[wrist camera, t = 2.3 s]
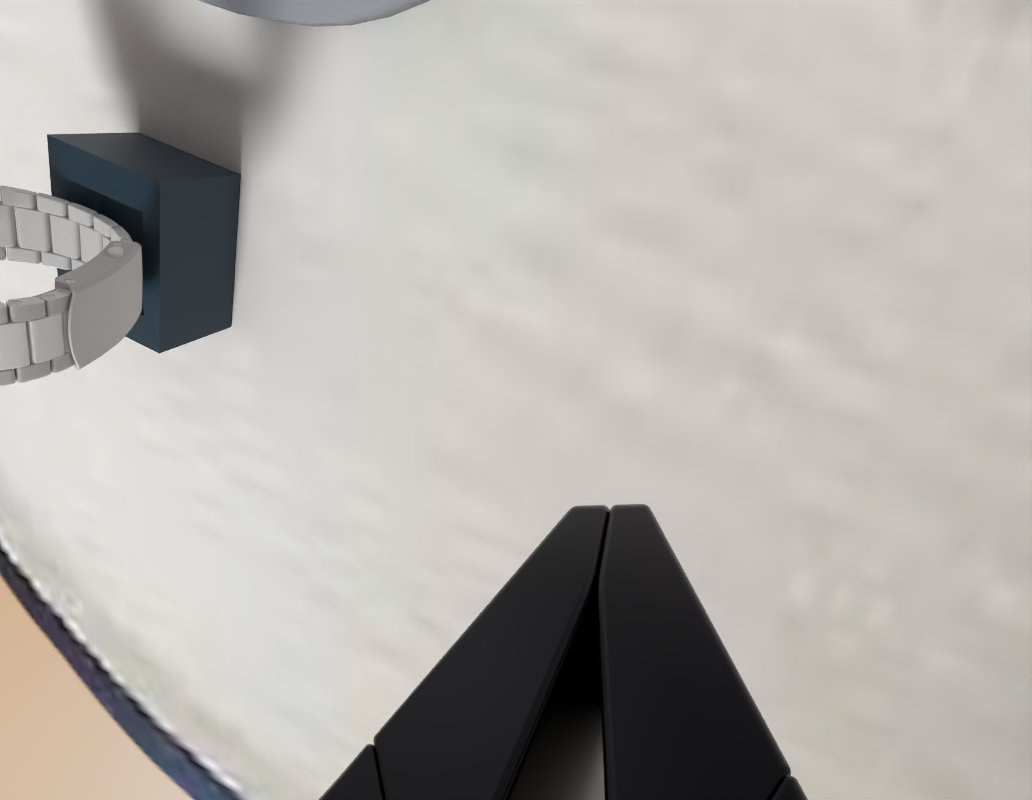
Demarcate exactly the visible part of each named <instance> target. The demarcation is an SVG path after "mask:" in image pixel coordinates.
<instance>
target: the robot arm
mask: <svg viewBox="0 0 1032 800" xmlns="http://www.w3.org/2000/svg"><path fill="white" fill-rule="evenodd" d="M319 800H808V799H807V797H806V796H805V794H804V792H803V790H802V788H801V786H800V784H799V783H798V781H797V779H796V778H794V777H792V776H791V770H790V767H789V765H788V763H787V761H786V760H785V758H784V756H783V754H782V752H781V750H780V748H779V747H778V745H777V743H776V741H775V739H774V737H773V735H772V734H771V732H770V730H769V728H768V726H767V724H766V722H765V721H764V719H763V717H762V715H761V713H760V711H759V709H758V708H757V706H756V704H755V702H754V700H753V698H752V696H751V695H750V693H749V691H748V689H747V687H746V685H745V683H744V682H743V680H742V678H741V676H740V674H739V672H738V670H737V669H736V667H735V665H734V663H733V661H732V659H731V657H730V656H729V654H728V652H727V650H726V648H725V646H724V644H723V643H722V641H721V639H720V637H719V635H718V633H717V631H716V630H715V628H714V626H713V624H712V622H711V620H710V618H709V617H708V615H707V613H706V611H705V609H704V607H703V605H702V604H701V602H700V600H699V598H698V596H697V594H696V593H695V591H694V589H693V587H692V585H691V583H690V581H689V580H688V578H687V576H686V574H685V572H684V570H683V568H682V567H681V565H680V563H679V561H678V559H677V557H676V555H675V554H674V552H673V550H672V548H671V546H670V544H669V542H668V541H667V539H666V537H665V535H664V533H663V531H662V529H661V528H660V526H659V524H658V522H657V520H656V518H655V516H654V515H653V513H652V511H651V509H650V508H649V507H648V506H647V505H645V504H629V505H614V506H613V507H612V508H611V509H610V510H609V508H608V507H607V506H605V505H590V506H575V507H573V508H571V509H570V510H569V511H568V512H567V513H566V514H565V515H564V517H563V518H562V519H561V520H560V521H559V522H558V524H557V525H556V526H555V527H554V528H553V529H552V531H551V532H550V533H549V534H548V535H547V536H546V538H545V539H544V540H543V541H542V542H541V543H540V545H539V546H538V547H537V548H536V549H535V550H534V552H533V553H532V554H531V555H530V556H529V557H528V559H527V560H526V561H525V562H524V563H523V564H522V565H521V567H520V568H519V569H518V570H517V571H516V572H515V574H514V575H513V576H512V577H511V578H510V579H509V581H508V582H507V583H506V584H505V585H504V586H503V588H502V589H501V590H500V591H499V592H498V593H497V595H496V596H495V597H494V598H493V599H492V600H491V602H490V603H489V604H488V605H487V606H486V607H485V609H484V610H483V611H482V612H481V613H480V614H479V616H478V617H477V618H476V619H475V620H474V621H473V622H472V624H471V625H470V626H469V627H468V628H467V629H466V631H465V632H464V633H463V634H462V635H461V636H460V638H459V639H458V640H457V641H456V642H455V643H454V645H453V646H452V647H451V648H450V649H449V650H448V652H447V653H446V654H445V655H444V656H443V657H442V659H441V660H440V661H439V662H438V663H437V664H436V666H435V667H434V668H433V669H432V670H431V671H430V672H429V674H428V675H427V676H426V677H425V678H424V679H423V681H422V682H421V683H420V684H419V685H418V686H417V688H416V689H415V690H414V691H413V692H412V693H411V695H410V696H409V697H408V698H407V699H406V700H405V702H404V703H403V704H402V705H401V706H400V707H399V709H398V710H397V711H396V712H395V713H394V714H393V716H392V717H391V718H390V719H389V720H388V721H387V722H386V724H385V725H384V726H383V727H382V728H381V729H380V731H379V732H378V733H377V734H376V735H375V737H374V745H372V744H368V745H366V746H365V748H364V749H363V750H362V751H361V752H360V753H359V755H358V756H357V757H356V758H355V759H354V760H353V762H352V763H351V764H350V765H349V766H348V767H347V768H346V770H345V771H344V772H343V773H342V774H341V775H340V777H339V778H338V779H337V780H336V781H335V782H334V783H333V784H332V786H331V787H330V788H329V789H328V790H327V791H326V792H325V793H324V794H323V796H322V797H321V798H320V799H319Z"/></svg>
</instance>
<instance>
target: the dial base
mask: <svg viewBox="0 0 1032 800" xmlns="http://www.w3.org/2000/svg"><path fill="white" fill-rule="evenodd" d="M199 1H201V2H204V3H207V4H210V5H213V6H216V7H219V8H222V9H225V10H228V11H231V12H234V13H237V14H242V15H248V16H253V17H258V18H264V19H269V20H275V21H281V22H288V23H294V24H301V25H308V26H336V25H353V24H358V23H362V22H367V21H372V20H376V19H381V18H386V17H390V16H392V15H395V14H397V13H400V12H402V11H405V10H407V9H410V8H412V7H415V6H417V5H420V4H422V3H425V2H427V1H429V0H199Z"/></svg>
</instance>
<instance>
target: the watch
mask: <svg viewBox="0 0 1032 800" xmlns="http://www.w3.org/2000/svg"><path fill="white" fill-rule="evenodd" d="M47 139H48V153H49V166H50V179H51V192H52V196H50V195H47V194H43V193H38V194H37V193H36V192H32V191H27V190H23V189H18V188H12V187H7V186H0V196H1V201H0V260H5V259H6V249H5V247H6V248H7V257H8V260H9V261H12V262H23V263H33V264H38V263H41V262H42V264H43V265H45V266H50V267H56V268H57V271H58V277H56V278H55V289H54V290H51V291H49V292H46V293H43V294H40V295H37V296H33V297H27V298H20V299H11V300H8V301H7V302H6V305H5V304H4V303H2V302H0V386H5V385H11V384H14V383H15V382H16V381H17V382H19V383H23V382H28V381H31V380H35V379H39V378H42V377H45V376H48V375H50V374H51V372H52V373H58V372H60V371H63V370H65V369H67V368H69V367H71V366H74V367H75V369H76V370H79V369H81V368H83V367H84V366H86V365H88V364H89V363H91V362H92V361H94V360H96V359H97V358H99V357H100V356H102V355H103V354H104V353H106V352H107V351H109V350H110V349H111V348H112V347H114V346H115V345H116V344H117V343H118V342H120V341H121V340H122V339H123V338H124V337H125V336H126V337H128V338H130V339H132V340H134V341H136V342H138V343H140V344H142V345H144V346H146V347H148V348H150V349H152V350H154V351H156V352H158V353H162V352H164V351H167V350H170V349H172V348H175V347H178V346H181V345H183V344H186V343H189V342H191V341H194V340H197V339H200V338H202V337H205V336H208V335H210V334H213V333H216V332H219V331H221V330H224V329H227V328H229V327H231V319H232V303H233V287H234V272H235V256H236V240H237V224H238V208H239V193H240V177H241V175H240V174H238V173H235V172H233V171H230V170H228V169H225V168H223V167H221V166H218V165H216V164H213V163H211V162H208V161H206V160H204V159H201V158H199V157H196V156H194V155H191V154H189V153H187V152H184V151H182V150H179V149H177V148H174V147H172V146H169V145H167V144H165V143H162V142H160V141H157V140H155V139H152V138H150V137H148V136H145V135H143V134H140V133H97V134H53V135H47ZM14 206H15V209H14ZM15 212H16V219H15ZM16 222H17V228H16ZM17 231H18V238H17ZM18 241H19V244H18ZM6 306H7V307H6ZM15 379H16V381H15Z"/></svg>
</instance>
